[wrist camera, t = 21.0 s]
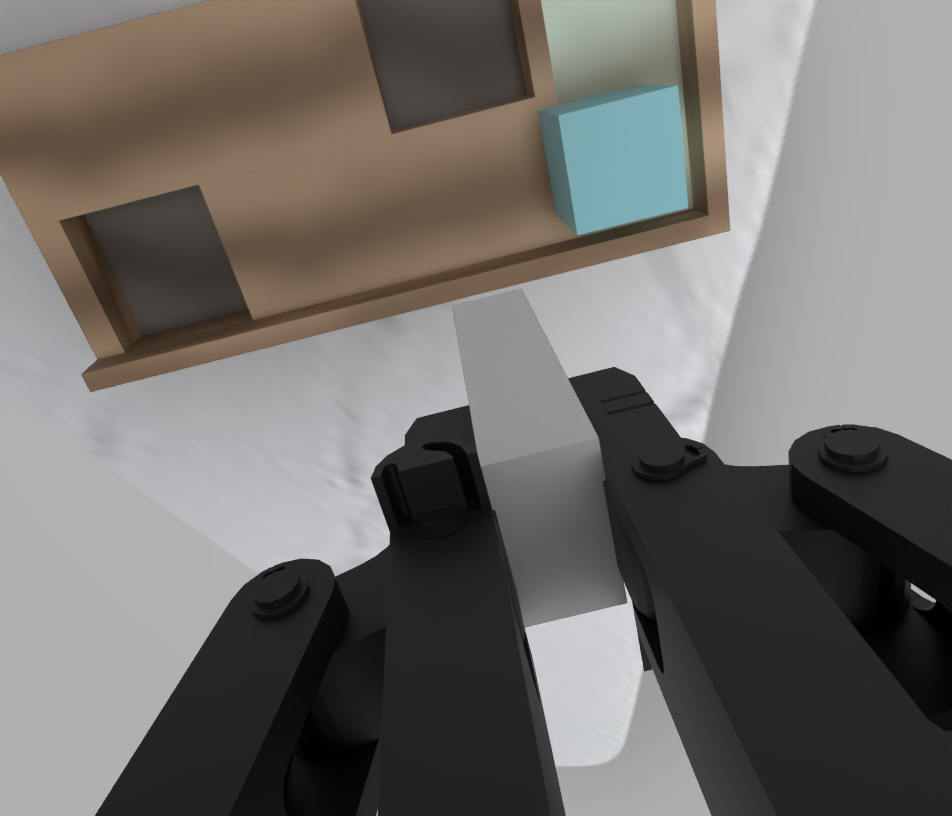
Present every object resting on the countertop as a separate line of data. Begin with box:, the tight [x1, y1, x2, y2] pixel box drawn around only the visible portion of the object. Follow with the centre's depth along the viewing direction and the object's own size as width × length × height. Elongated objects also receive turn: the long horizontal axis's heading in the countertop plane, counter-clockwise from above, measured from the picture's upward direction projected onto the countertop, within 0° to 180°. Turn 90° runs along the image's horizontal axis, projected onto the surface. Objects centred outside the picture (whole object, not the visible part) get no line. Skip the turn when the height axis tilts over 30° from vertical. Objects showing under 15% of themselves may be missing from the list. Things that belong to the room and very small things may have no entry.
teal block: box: [538, 84, 688, 235], centre depth 31 cm, size 5×5×5 cm
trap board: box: [0, 0, 730, 392], centre depth 33 cm, size 15×33×5 cm, turn 103°
